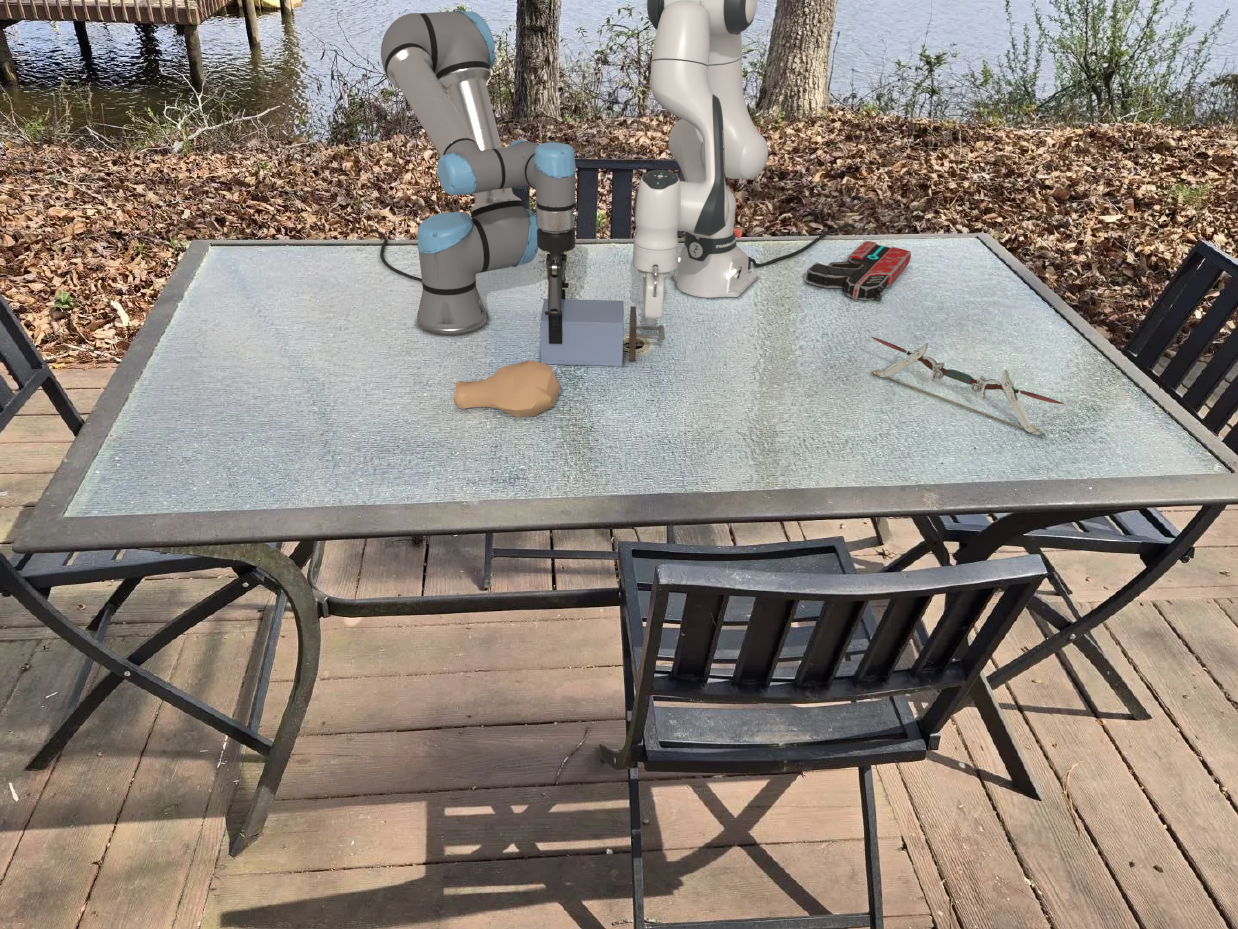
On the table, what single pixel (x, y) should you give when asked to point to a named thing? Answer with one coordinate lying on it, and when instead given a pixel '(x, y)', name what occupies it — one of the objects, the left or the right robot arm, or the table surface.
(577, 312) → the cabinet
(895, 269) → the gun
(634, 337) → the drawer
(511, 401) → the squash
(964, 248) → the table surface
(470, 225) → the left robot arm
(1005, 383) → the bow
